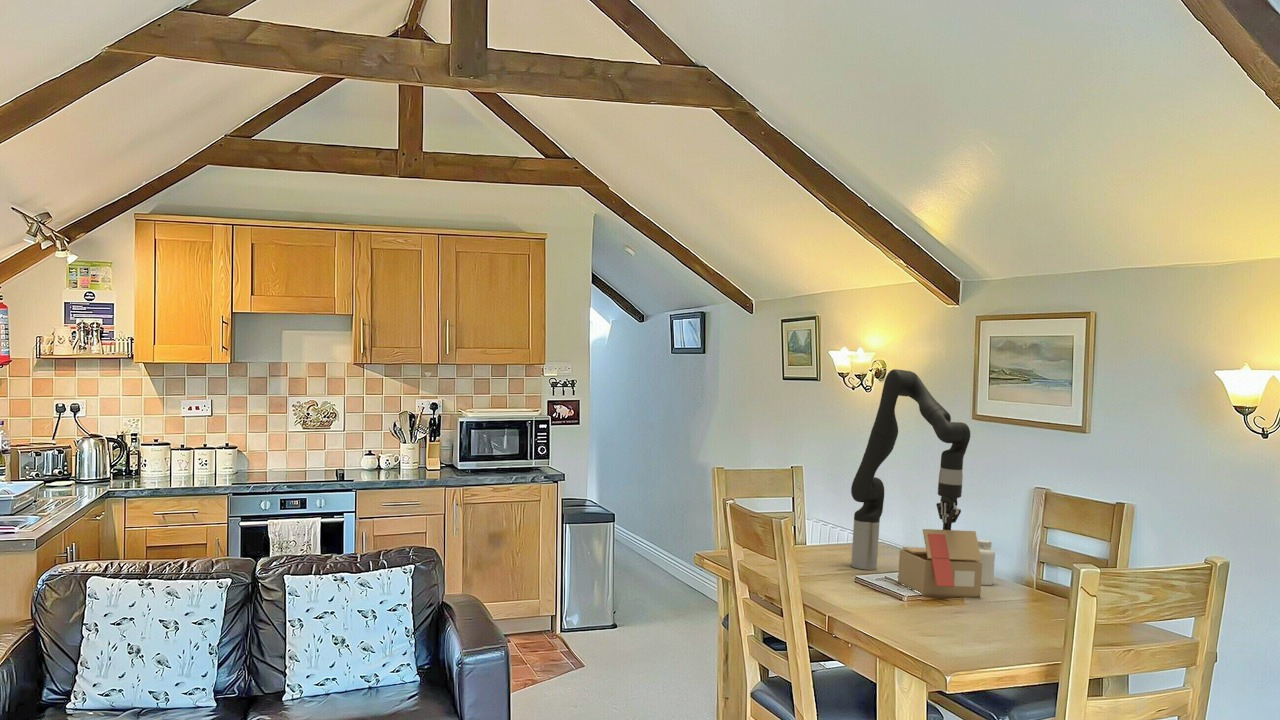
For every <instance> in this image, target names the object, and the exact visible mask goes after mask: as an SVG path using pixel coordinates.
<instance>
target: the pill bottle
mask: <svg viewBox="0 0 1280 720" xmlns="http://www.w3.org/2000/svg"><path fill="white" fill-rule="evenodd" d="M977 541H978V546H979V551H980V556H981V560H980V561H979V560H977V561H979V562H982V576H981V586H992V585H993V584H994V575H995V574H994V573H995V560H996V559H995V558H996V553H995V552H996V551H995V550H993V549H992V541H991V540H988V539H977Z"/></svg>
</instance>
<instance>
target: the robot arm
mask: <svg viewBox="0 0 1280 720" xmlns="http://www.w3.org/2000/svg"><path fill="white" fill-rule="evenodd" d="M882 386H883V388H882V392H881V396H880V400H879V401H880V402H879V405H878V409H877V413H876V417H875V419H874V423H873V426H872V428H871V431H870V435H869V438H868V441H867V445H866V448H865V452H864V453H863V456H862V459H861V462H860V464H859V467H858V469H857V470H856V471H857V472H856V474H855V476H854V478H853V480H852V484H851V488H850V493H851V497H852V499H853V500H854V501H856V502H857V503H863V505H862V506H861V507H860V508H859V509H857V510H856V511H855V512H854V515H853V530H852V531H853V532H852V548H851V559H850V560H851V561H850V562H851V565H850V566H851V567H852V568H854V569H859V570H866V571H867V570H868V571H870V570H871V571H872V570H874V571H875V570H878V557H879V556H878V554H879V538H880V524H881V523H880V521H881V520H880V519H881V516H882V515H883V512H884V511H883V510H884V502H885V501H884V500H885V486H884V482H883V481H882V479H880V478H878V477H875V475H876V473H877V470H879V467H880V466H881V465H882V464H883V463H884V461H885V460H886V459H887V458H888V457H889V456H890V455H891V453H892V451H893V450H894V447H895V445H896V442H897V438H898V434H899V425H898V422H897V417H896V411H895V409H896V405H897V401H898V397H909V398H910V399H912V400H914V401H915V402H916V403H917V404H918V408H919V412H920V415H921V416H922V417H923V418H924V420H926V422H928V423H929V424H930V425H931V426H932V429H933V430H934V432H935V435H936V437H937V439H939V440H940V441H941V442H943V443H946V444H951V446H950V448H949V449H945V450H942V452H941V457H940V468H939V473H938V484H937V485H938V486H937V495H938V496H940V502H936V509H937V513H938V516H939V519H940V520H941V522H942V524H943V525H942V530H952V524H956V522H957V520H958V518H959V516H960V514H961V512H962V510H961V509H960V508H958V499H960V498H961V497H962V495H963V493H962V492H963V491H962V490H963V481H964V479H963V478H964V474H963V466H964V457H965V454H966V452H967V449H968V446H969V443H970V440H971V430H970V427H969V426H968V424H967V423H965V422H959V421H955V422H953V421H952V418H951V414H950V413H949V412H948V410H946V408H945V407H944V406H942V405H941V404H940V403H939V402H938V401H937V400H936V399H935V398H934V396H933V395H932V393H931V392H930V391H929V390H928V389H927V387H926V385H925V384H924V383H923V381H922V380H921V379H920V377H919V376H918V375H917V374H916V372H913V371H911V370H903V369H895V368H894V369H892V370H890V371H889V372H888V373H887V375H886V376H885V379H884V382H883V385H882Z"/></svg>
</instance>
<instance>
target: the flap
mask: <svg viewBox="0 0 1280 720" xmlns="http://www.w3.org/2000/svg"><path fill="white" fill-rule="evenodd" d="M922 533H923V534H922V535H923V539H924V546H925V548H926V552H927V558H928V559H932V564H933V569H934V575H935V581H936V586H943V587H955V585H954V580H953V575H952V569H951V564H950V559H951V560H979V561H980V560H981V556H980V551H979V546H978V541H977V540H978V538H977V531H975V530H974V531H973V530H959V529H958V530H956V529H951V530H943V529H933V528H931V529H930V528H929V529H928V528H923V529H922Z"/></svg>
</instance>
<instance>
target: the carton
mask: <svg viewBox="0 0 1280 720" xmlns="http://www.w3.org/2000/svg"><path fill="white" fill-rule="evenodd" d="M950 564H951V569H952V575H953V580H954V585H955V587H943V586H936V581H935V575H934V569H933V564H932V559H928V558H927V552H926V547H919V546H918V547H917V546H915V547H914V546H912V547H911V546H902V549H899V559H898V577H897V583H898V582H900V583H902V584H904V585H905V586H907V587H909V588H911V589H913V590H916V591H918V592H920V593H921V594H922V595H921V596H922V597H943V598H944V597H949V598H951V597H952V598H975V599H976V598H978V599H979V598H981V592H982V585H981V576H982V562H979V561H977V560H951V559H950ZM905 586H904V587H905ZM907 587H906V588H907ZM909 588H908V589H909ZM911 589H910V590H911Z"/></svg>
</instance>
